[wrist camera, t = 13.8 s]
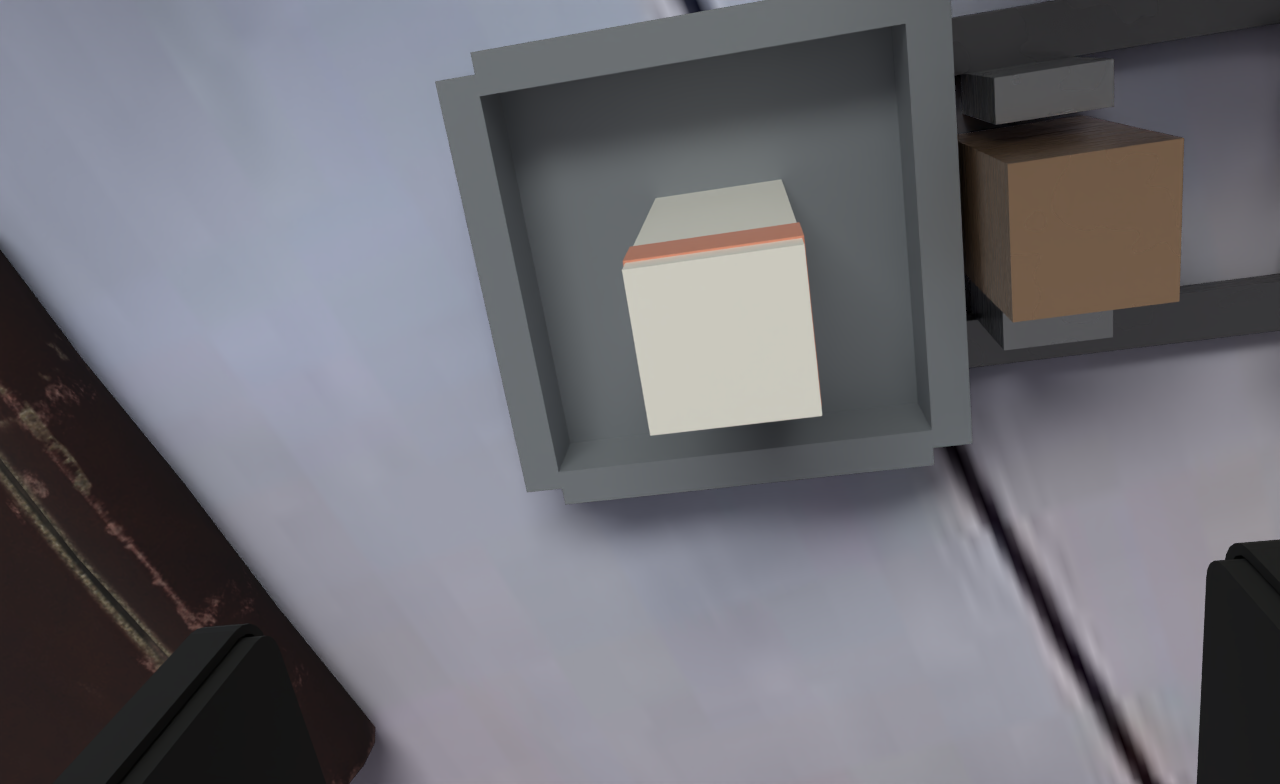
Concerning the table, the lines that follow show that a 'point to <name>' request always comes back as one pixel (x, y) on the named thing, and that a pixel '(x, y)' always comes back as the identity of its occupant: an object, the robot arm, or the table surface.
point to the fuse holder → (1082, 187)
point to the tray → (706, 160)
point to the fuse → (722, 310)
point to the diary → (111, 565)
